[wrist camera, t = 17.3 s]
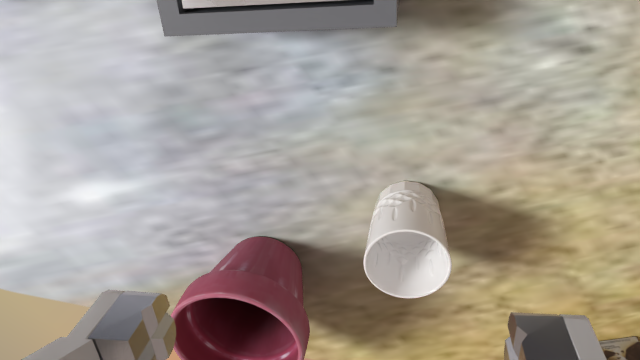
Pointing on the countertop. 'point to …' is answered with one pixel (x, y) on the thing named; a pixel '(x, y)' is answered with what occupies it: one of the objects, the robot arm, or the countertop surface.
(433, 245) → the white cup
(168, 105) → the countertop surface
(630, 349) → the coffee box
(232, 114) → the countertop surface
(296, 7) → the scale housing
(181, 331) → the plant pot
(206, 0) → the pan
